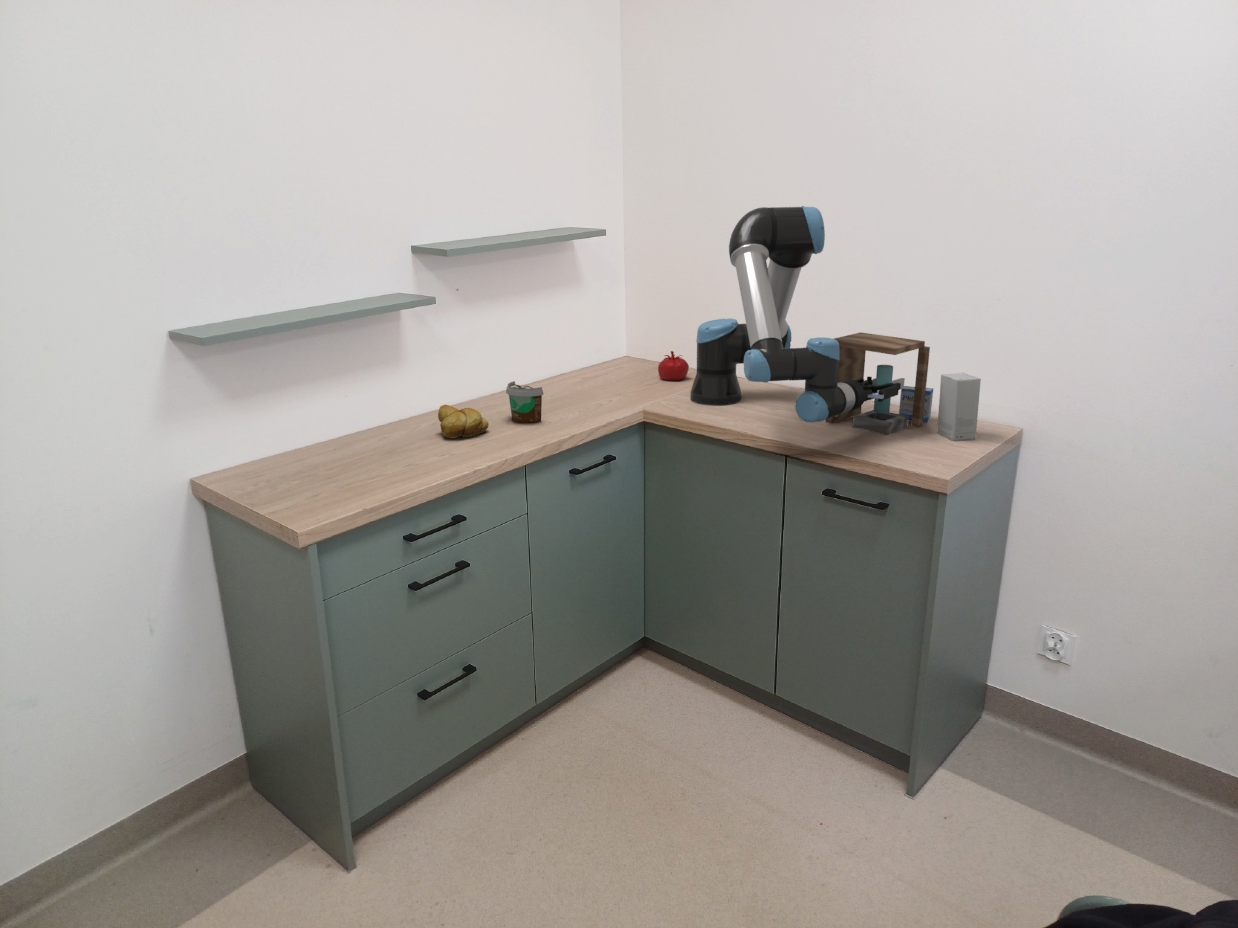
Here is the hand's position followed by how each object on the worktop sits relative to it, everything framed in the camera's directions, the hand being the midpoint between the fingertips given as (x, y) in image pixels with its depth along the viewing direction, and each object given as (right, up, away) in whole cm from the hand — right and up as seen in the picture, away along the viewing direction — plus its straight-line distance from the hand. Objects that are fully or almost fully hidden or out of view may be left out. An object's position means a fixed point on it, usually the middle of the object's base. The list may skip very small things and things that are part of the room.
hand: (894, 381), depth 229 cm
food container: (-99, -10, +12) cm, 101 cm away
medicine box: (+8, -10, +7) cm, 14 cm away
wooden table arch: (-5, -11, +3) cm, 12 cm away
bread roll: (-113, -14, 0) cm, 114 cm away
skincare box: (+13, -15, -8) cm, 21 cm away
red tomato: (-55, +6, +57) cm, 80 cm away
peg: (-4, -8, -1) cm, 9 cm away
